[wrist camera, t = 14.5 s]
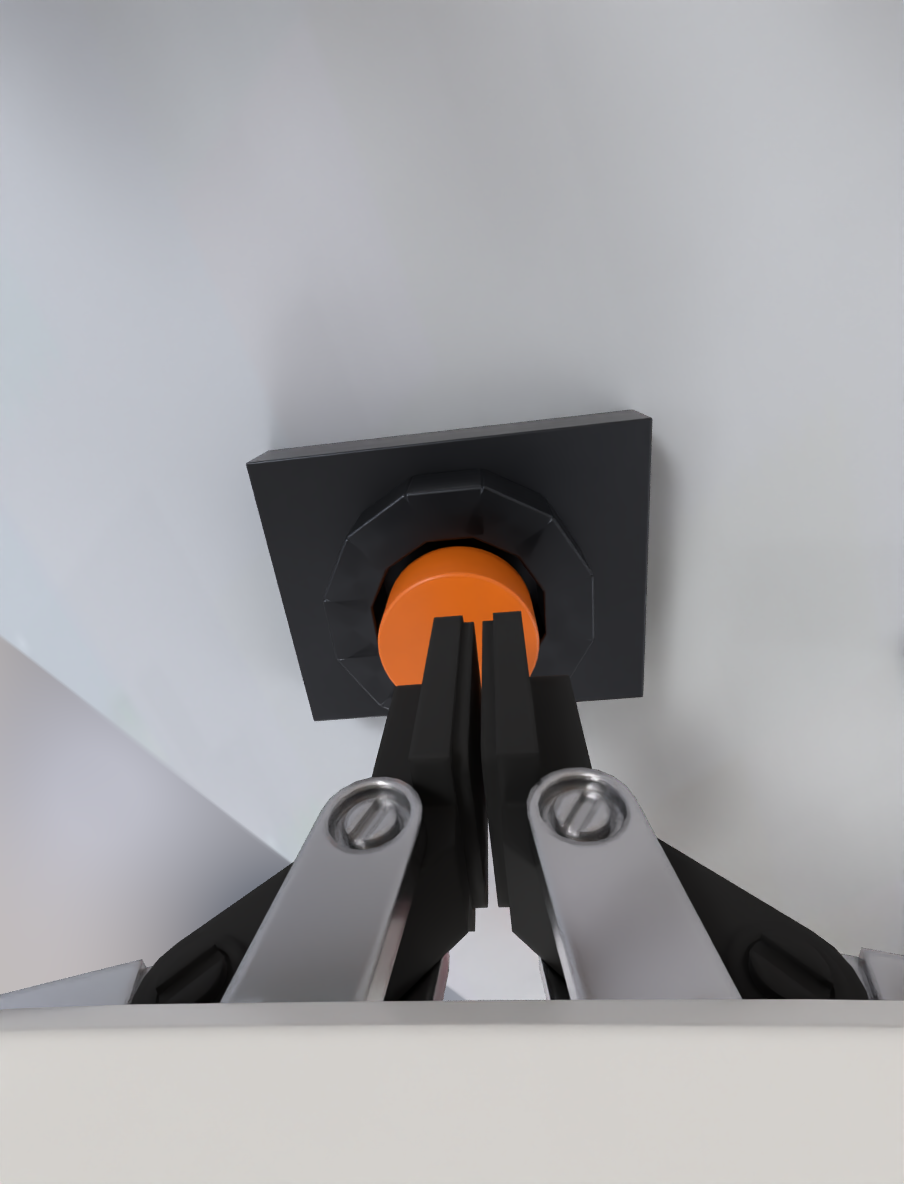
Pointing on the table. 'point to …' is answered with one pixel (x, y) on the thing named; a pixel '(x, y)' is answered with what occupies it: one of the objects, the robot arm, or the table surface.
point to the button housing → (464, 543)
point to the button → (449, 606)
